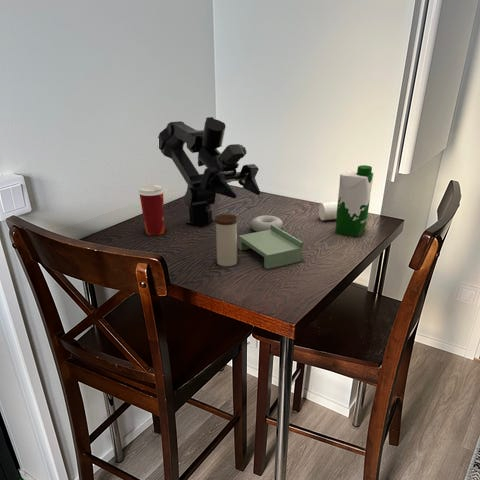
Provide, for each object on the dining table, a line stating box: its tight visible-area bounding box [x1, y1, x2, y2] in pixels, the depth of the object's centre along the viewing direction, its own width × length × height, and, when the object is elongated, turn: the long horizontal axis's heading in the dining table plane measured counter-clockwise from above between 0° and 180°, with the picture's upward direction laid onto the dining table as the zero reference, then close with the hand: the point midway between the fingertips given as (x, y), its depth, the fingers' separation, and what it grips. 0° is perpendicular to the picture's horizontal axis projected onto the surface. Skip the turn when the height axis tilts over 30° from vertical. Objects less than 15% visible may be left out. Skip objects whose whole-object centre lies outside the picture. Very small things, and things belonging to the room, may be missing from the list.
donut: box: [250, 215, 284, 232], centre depth 153 cm, size 10×4×10 cm
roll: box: [318, 201, 338, 221], centre depth 160 cm, size 6×12×6 cm, turn 100°
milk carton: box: [335, 164, 375, 238], centre depth 146 cm, size 9×9×20 cm
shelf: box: [238, 224, 304, 270], centre depth 135 cm, size 16×11×6 cm
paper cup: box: [137, 184, 165, 236], centre depth 148 cm, size 8×8×14 cm
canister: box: [214, 213, 238, 267], centre depth 129 cm, size 6×6×12 cm
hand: (247, 195), depth 134 cm, fingers open, 9 cm apart
